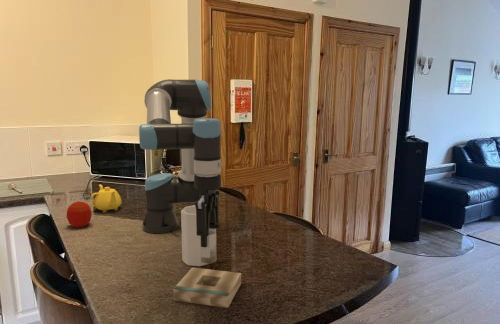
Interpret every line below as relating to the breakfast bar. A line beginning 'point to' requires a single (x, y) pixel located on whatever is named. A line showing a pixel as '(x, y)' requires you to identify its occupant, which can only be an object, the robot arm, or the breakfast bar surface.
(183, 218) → the cup
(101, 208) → the teapot
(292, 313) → the breakfast bar surface
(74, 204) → the apple
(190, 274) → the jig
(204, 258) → the grey metal cylinder
